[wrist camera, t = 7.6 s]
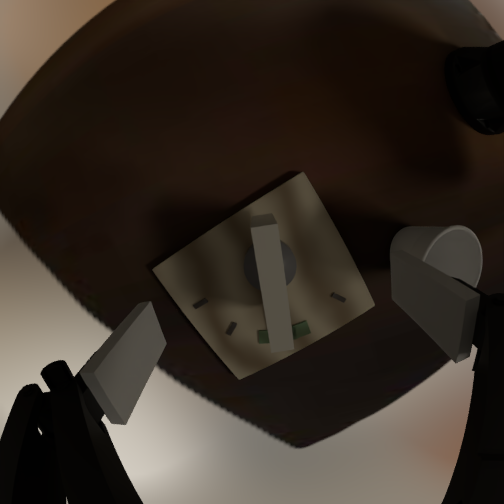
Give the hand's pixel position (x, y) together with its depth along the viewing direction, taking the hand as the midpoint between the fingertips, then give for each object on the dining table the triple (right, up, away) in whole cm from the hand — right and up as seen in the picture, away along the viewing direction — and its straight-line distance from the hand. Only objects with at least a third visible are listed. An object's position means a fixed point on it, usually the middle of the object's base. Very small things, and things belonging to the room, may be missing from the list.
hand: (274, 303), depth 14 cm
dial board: (+1, -2, +22) cm, 22 cm away
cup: (+20, +3, +20) cm, 29 cm away
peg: (+1, 0, +20) cm, 20 cm away
